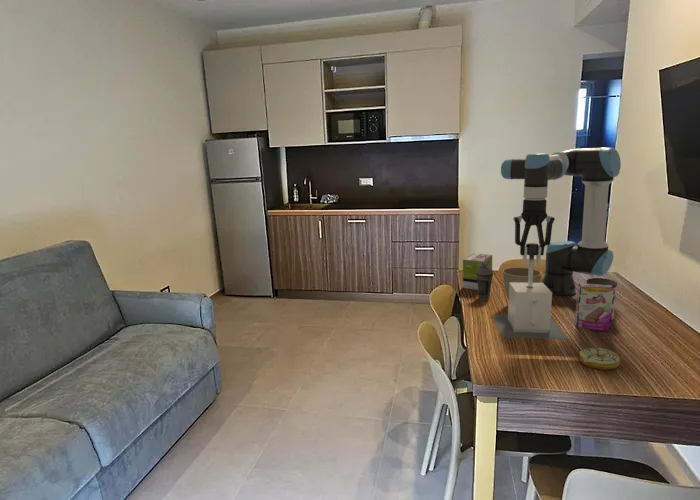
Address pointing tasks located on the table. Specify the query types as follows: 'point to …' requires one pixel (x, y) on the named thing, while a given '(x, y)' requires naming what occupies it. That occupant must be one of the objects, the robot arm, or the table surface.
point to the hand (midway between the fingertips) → (531, 263)
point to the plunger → (531, 261)
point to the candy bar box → (594, 306)
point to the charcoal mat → (509, 333)
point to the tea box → (474, 269)
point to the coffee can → (605, 282)
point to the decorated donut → (599, 358)
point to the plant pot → (519, 276)
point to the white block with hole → (529, 307)
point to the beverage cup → (484, 281)
